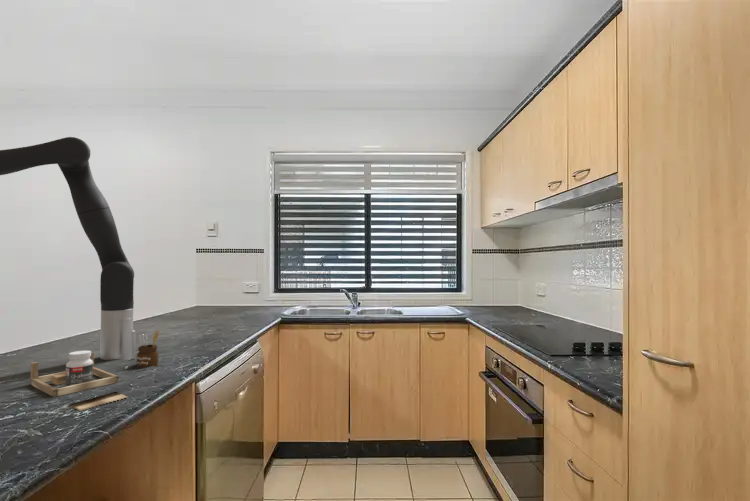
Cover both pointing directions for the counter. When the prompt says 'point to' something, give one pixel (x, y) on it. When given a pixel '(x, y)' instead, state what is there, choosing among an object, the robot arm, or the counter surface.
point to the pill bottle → (79, 368)
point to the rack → (39, 383)
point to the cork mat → (97, 401)
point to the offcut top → (58, 379)
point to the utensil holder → (148, 354)
